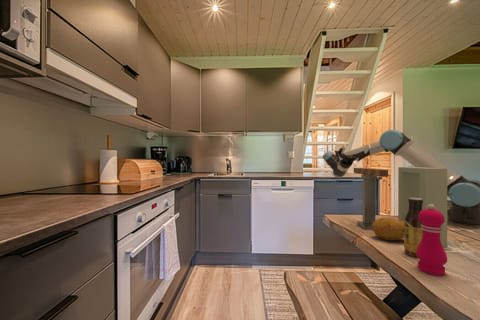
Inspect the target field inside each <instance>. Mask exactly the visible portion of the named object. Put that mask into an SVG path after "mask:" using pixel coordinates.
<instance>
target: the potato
mask: <svg viewBox="0 0 480 320" xmlns="http://www.w3.org/2000/svg"><path fill="white" fill-rule="evenodd" d="M372 229H373V230H372V232H374V234H375V236H377V237H379V238H381V239H383V240H386V241H397V240H398V241H399V240H402V239H404V222H403V221H401V220H398V218H393V217H378V218H377V219H376V218H375V221H374V222H373V224H372Z"/></svg>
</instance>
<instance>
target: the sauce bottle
mask: <svg viewBox="0 0 480 320" xmlns="http://www.w3.org/2000/svg"><path fill="white" fill-rule="evenodd" d="M408 202H409V210H408V213H407V215H406V217H405V219H404V238H403V241H404V242H403V243H404V244H403V247H404V248H403V249H404V252H405V254H407V255H408V256H412V257H415V258H418V257H417V256H416V250H417V247H418V245H419V243H420V242H421V240H422V235H423V232H422V229H421V224H422V222H421V221H420V220H419V213H420V212H421V211H422V204H423V199H421V198H408Z"/></svg>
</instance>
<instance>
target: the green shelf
mask: <svg viewBox="0 0 480 320" xmlns="http://www.w3.org/2000/svg"><path fill="white" fill-rule="evenodd" d="M397 170H398V173H397V174H398V177H397V179H398V182H397V184H398V187H397V188H398V191H397V192H398V194H397V195H398V196H397V197H398V199H397V201H398V202H397V203H398V204H397V207H398V208H397V211H398V213H397V215H398V217H397V220H401V221H403V222H404V219H405V217H406V215H407V213H408V210H409V202H408V198H421V199H423V204H422V210H424V209H428V207H427V206H428V205H429V204H433V205H434V206H435V209H434V210H437V211H439V212H441V213H442V214H443V215H444V219H445V222H444V223H443V224H442V225H441V227H442V232H441V233H440V240H441V244H442V246H443V247H448V219H447V214H448V196H447V170H448V168H446V169H444V168H421V167H414V166H405V167H404V166H403V167H401V166H399V167H398V169H397Z"/></svg>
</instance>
